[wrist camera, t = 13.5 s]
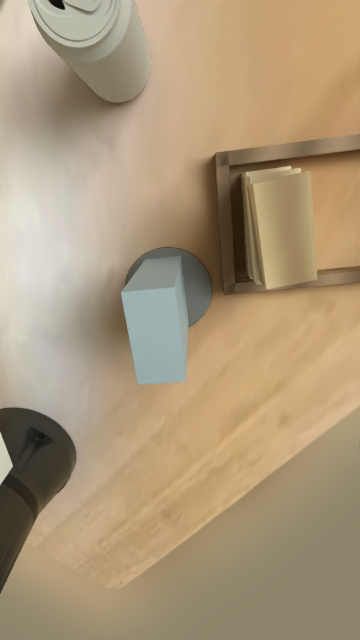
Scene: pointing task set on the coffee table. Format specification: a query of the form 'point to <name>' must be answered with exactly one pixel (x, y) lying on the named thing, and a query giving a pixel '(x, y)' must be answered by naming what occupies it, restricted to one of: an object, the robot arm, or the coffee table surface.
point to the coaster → (185, 280)
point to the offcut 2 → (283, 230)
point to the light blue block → (157, 321)
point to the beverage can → (98, 43)
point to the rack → (225, 216)
